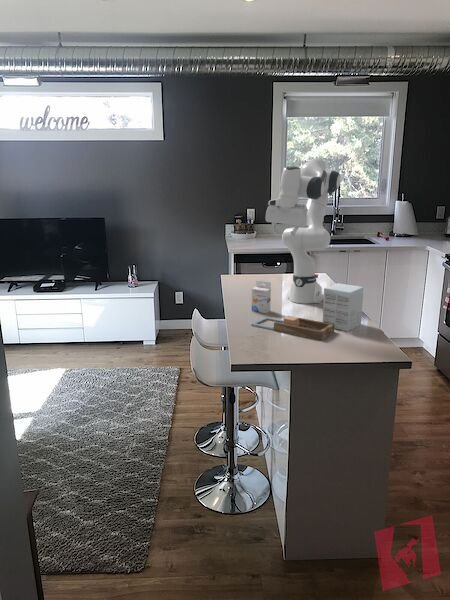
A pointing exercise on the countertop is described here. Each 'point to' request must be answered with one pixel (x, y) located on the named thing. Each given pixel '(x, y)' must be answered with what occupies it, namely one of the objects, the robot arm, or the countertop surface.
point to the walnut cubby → (307, 328)
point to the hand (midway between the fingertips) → (284, 234)
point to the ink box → (261, 297)
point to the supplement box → (343, 306)
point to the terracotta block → (291, 320)
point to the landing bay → (264, 325)
